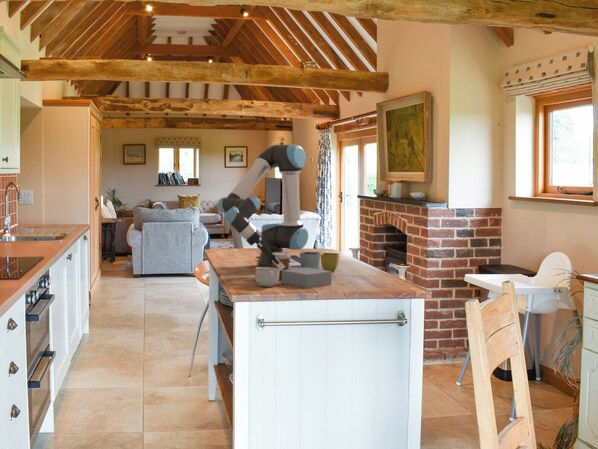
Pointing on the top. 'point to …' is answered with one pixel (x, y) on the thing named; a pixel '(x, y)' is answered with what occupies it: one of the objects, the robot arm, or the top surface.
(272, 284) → the teacup
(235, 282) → the top surface
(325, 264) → the flower pot
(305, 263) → the grey-green cup
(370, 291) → the top surface
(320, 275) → the riser block
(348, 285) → the top surface
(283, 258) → the disposable coffee cup
